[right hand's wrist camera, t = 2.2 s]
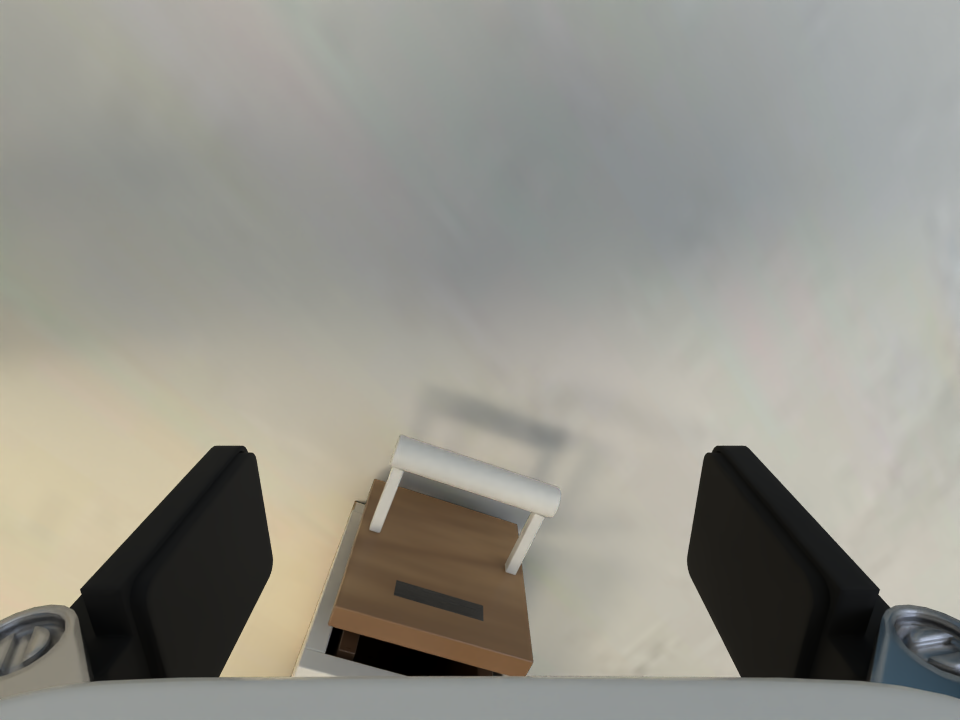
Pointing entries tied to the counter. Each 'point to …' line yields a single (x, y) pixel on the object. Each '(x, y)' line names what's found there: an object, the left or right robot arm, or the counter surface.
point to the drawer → (439, 572)
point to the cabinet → (318, 634)
